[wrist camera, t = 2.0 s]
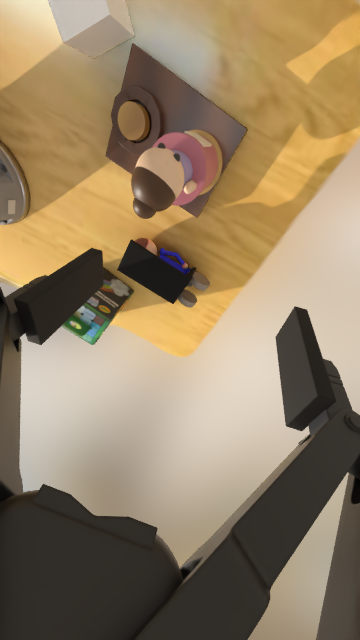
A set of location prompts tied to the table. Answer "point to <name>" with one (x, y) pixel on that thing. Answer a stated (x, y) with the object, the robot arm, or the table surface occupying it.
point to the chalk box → (99, 309)
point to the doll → (175, 171)
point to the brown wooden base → (168, 116)
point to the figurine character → (161, 272)
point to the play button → (133, 121)
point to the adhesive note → (92, 24)
